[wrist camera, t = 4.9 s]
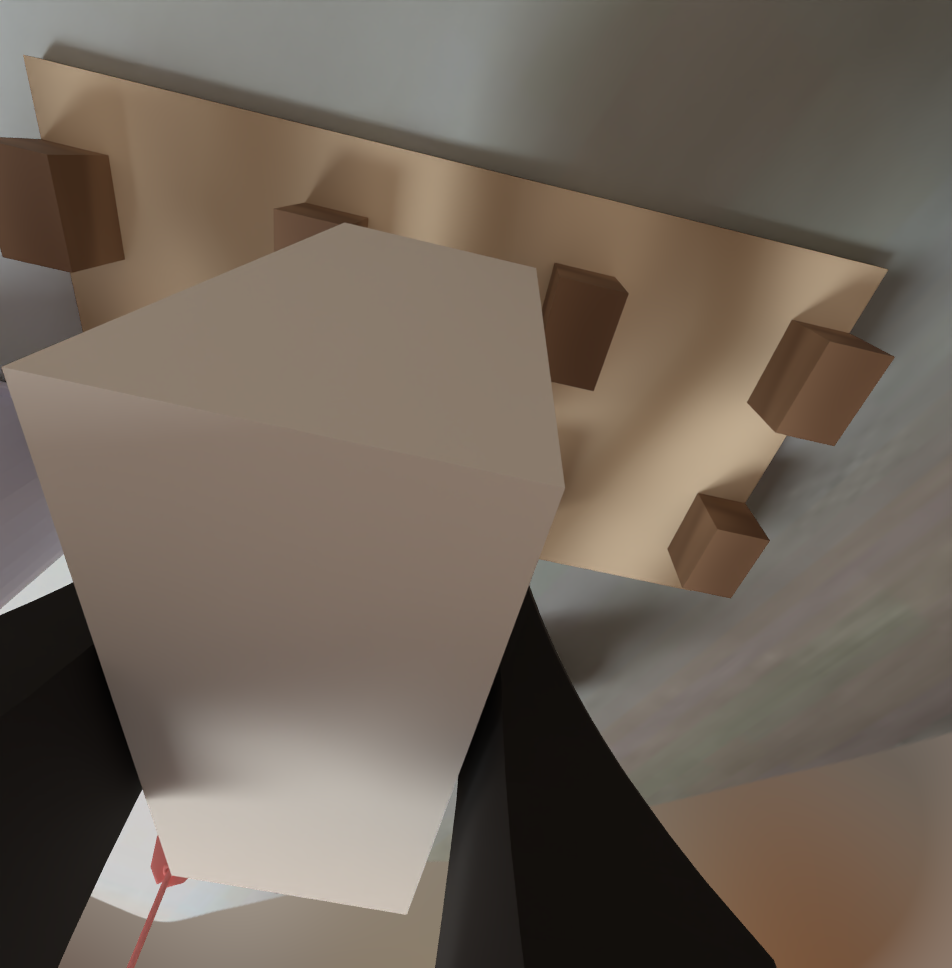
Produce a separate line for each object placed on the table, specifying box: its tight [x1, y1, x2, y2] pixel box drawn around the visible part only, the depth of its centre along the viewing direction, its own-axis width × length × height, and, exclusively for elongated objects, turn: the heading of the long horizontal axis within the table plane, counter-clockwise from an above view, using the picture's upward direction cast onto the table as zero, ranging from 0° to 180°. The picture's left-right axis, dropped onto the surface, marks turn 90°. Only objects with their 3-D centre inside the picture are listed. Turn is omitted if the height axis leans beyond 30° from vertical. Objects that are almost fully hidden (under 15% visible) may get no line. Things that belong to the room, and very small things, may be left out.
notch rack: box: [0, 55, 895, 598], centre depth 18 cm, size 26×14×3 cm, turn 78°
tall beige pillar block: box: [1, 223, 565, 915], centre depth 10 cm, size 5×10×9 cm, turn 168°
